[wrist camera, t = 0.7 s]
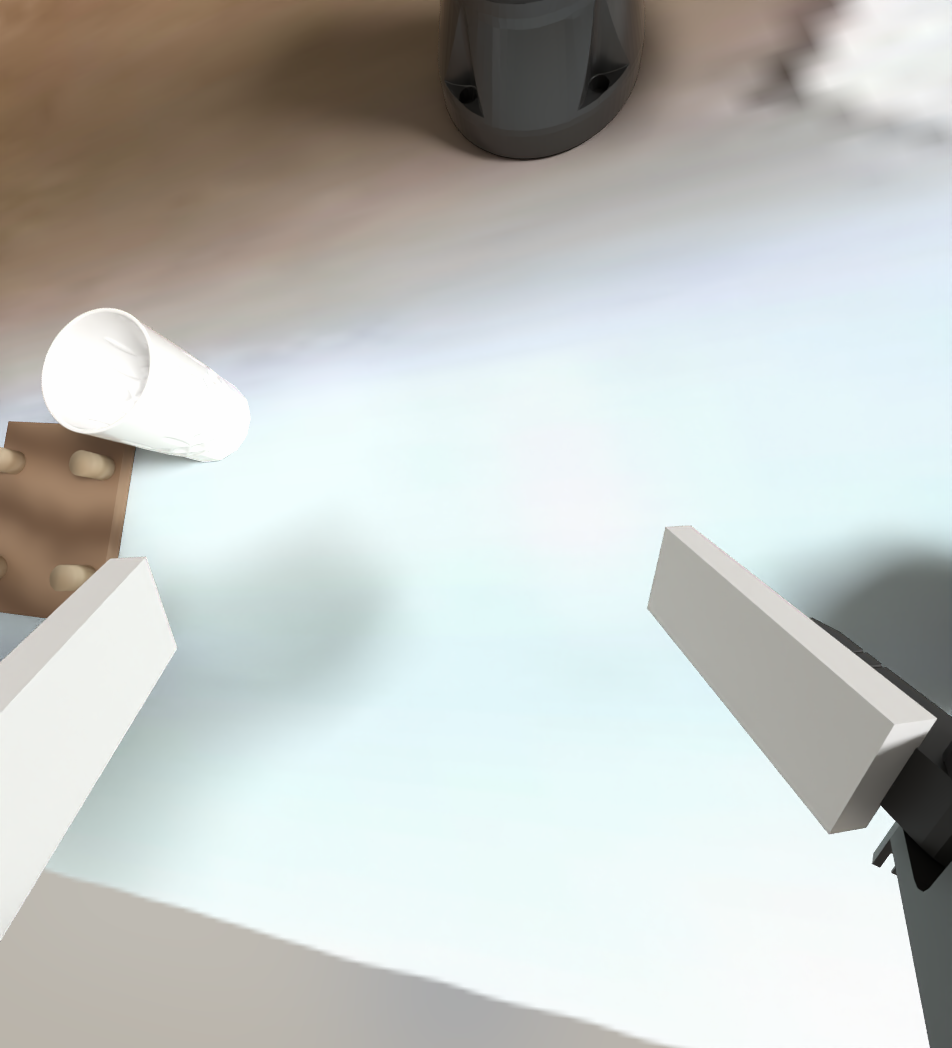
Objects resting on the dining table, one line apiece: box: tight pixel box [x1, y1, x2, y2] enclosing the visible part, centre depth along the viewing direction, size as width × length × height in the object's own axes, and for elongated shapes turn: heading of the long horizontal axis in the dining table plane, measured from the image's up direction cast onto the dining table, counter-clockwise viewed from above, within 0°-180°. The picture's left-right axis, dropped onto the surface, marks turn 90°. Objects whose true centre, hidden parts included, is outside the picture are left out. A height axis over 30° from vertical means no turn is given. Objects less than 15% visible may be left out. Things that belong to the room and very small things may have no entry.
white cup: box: [41, 308, 251, 462], centre depth 33 cm, size 8×8×10 cm
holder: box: [0, 421, 136, 618], centre depth 38 cm, size 16×12×3 cm
